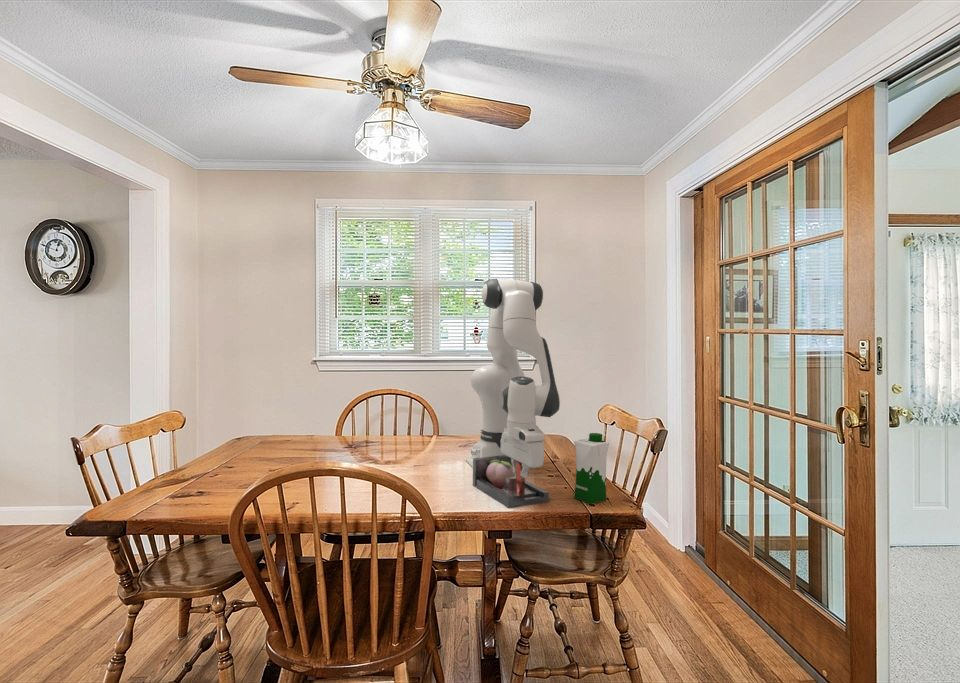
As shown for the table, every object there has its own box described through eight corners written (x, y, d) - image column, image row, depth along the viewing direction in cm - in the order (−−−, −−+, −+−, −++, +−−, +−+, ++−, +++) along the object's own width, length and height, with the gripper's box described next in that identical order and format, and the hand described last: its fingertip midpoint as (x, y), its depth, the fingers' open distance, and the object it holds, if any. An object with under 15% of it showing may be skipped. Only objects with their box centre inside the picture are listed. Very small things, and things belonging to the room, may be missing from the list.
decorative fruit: (519, 487, 171) (519, 457, 171) (507, 494, 164) (507, 462, 164) (494, 482, 176) (495, 453, 176) (481, 488, 169) (482, 458, 169)
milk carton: (610, 500, 160) (612, 435, 159) (591, 506, 154) (592, 439, 154) (588, 493, 167) (589, 431, 166) (569, 498, 161) (570, 434, 161)
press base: (472, 485, 173) (473, 458, 173) (509, 480, 179) (510, 454, 179) (508, 507, 152) (508, 477, 151) (548, 501, 158) (549, 472, 158)
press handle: (498, 496, 161) (499, 459, 161) (525, 492, 166) (526, 456, 165) (508, 502, 156) (509, 463, 155) (536, 498, 160) (536, 460, 160)
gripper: (496, 425, 167) (495, 467, 167) (529, 437, 148) (528, 485, 149) (513, 423, 169) (512, 465, 170) (548, 435, 151) (547, 483, 151)
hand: (520, 475), depth 159 cm, fingers closed on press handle, 3 cm apart
